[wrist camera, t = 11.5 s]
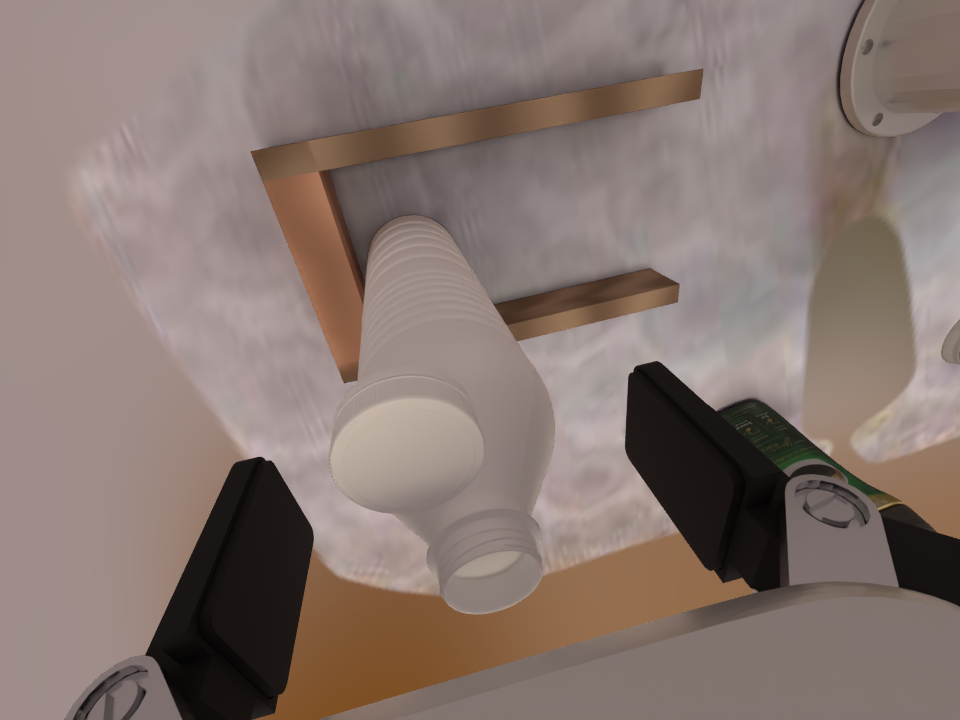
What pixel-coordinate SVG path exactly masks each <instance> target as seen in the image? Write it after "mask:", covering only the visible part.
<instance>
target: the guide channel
mask: <svg viewBox="0 0 960 720" xmlns="http://www.w3.org/2000/svg"><path fill="white" fill-rule="evenodd" d="M702 76H703V69H699V70H693V71H687V72H682V73H676V74H670V75H665V76H659V77H654V78H648V79H643V80H637V81H632V82H626V83H621V84H615V85H610V86H604V87H599V88H593V89H588V90H582V91H577V92H572V93H566V94H561V95H555V96H550V97H544V98H539V99H533V100H528V101H522V102H517V103H511V104H506V105H500V106H495V107H489V108H484V109H479V110H473V111H468V112H462V113H457V114H451V115H446V116H440V117H435V118H429V119H424V120H418V121H413V122H407V123H402V124H396V125H391V126H386V127H380V128H375V129H369V130H364V131H358V132H353V133H347V134H342V135H336V136H331V137H325V138H320V139H314V140H309V141H303V142H298V143H293V144H287V145H282V146H276V147H271V148H266V149H261V150H256V151H251V154H252V157H253V159H254V162H255V164H256V166H257V169H258V171H259V174H260V176H261V179H262V181H263V184H264V186H265V189H266V191H267V194H268V196H269V199H270V201H271V204H272V206H273V209H274V211H275V213H276V216H277V218H278V221H279V223H280V226H281V228H282V231H283V233H284V236H285V238H286V241H287V243H288V246H289V248H290V251H291V253H292V256H293V258H294V260H295V263H296V265H297V268H298V270H299V273H300V275H301V278H302V280H303V283H304V285H305V288H306V290H307V293H308V295H309V298H310V300H311V303H312V305H313V307H314V310H315V312H316V315H317V317H318V320H319V322H320V325H321V327H322V330H323V332H324V335H325V337H326V340H327V342H328V345H329V347H330V350H331V352H332V354H333V357H334V359H335V362H336V364H337V367H338V369H339V372H340V374H341V377H342V379H343V382H344V383H348V382H352V381H356V380H358V368H359V357H360V344H361V333H362V314H363V304H364V295H365V283H364V280H363V277H362V274H361V271H360V268H359V265H358V262H357V259H356V255H355V252H354V249H353V246H352V243H351V240H350V237H349V234H348V231H347V227H346V224H345V221H344V218H343V215H342V212H341V209H340V206H339V203H338V199H337V196H336V193H335V190H334V187H333V184H332V181H331V178H330V175H329V171H328V170H329V169H334V168H339V167H345V166H350V165H355V164H360V163H366V162H371V161H376V160H381V159H387V158H392V157H397V156H402V155H408V154H413V153H418V152H423V151H429V150H434V149H439V148H444V147H450V146H455V145H460V144H465V143H471V142H476V141H481V140H486V139H492V138H497V137H502V136H507V135H513V134H518V133H523V132H528V131H533V130H539V129H544V128H549V127H554V126H560V125H565V124H570V123H575V122H581V121H586V120H591V119H596V118H602V117H607V116H612V115H617V114H623V113H628V112H633V111H638V110H644V109H649V108H654V107H659V106H665V105H670V104H675V103H680V102H686V101H691V100H696V99H700V95H701V85H702ZM679 285H680V284H678V283H677V282H675V281H673V280H671V279H669V278H667V277H665V276H663V275H661V274H660V273H658V272H656V271H654V270H652V269H646V270H641V271H637V272H633V273H628V274H624V275H620V276H616V277H611V278H607V279H603V280H598V281H594V282H590V283H586V284H581V285H577V286H573V287H568V288H564V289H560V290H555V291H551V292H547V293H543V294H538V295H534V296H530V297H525V298H521V299H517V300H512V301H508V302H504V303H500V304H495V305H494V306H495V308H496V309H497V311H498V313H499V314H500V316H501V317H502V319H503V320H504V322H505V324H506V325H507V327H508V328H509V330H510V332H511V333H512V335H513V336H514V338H515V340H516V341H520V340H524V339H529V338H533V337H537V336H541V335H545V334H549V333H553V332H557V331H561V330H566V329H570V328H574V327H578V326H582V325H586V324H590V323H594V322H598V321H602V320H607V319H611V318H615V317H619V316H623V315H627V314H631V313H635V312H639V311H644V310H648V309H652V308H656V307H660V306H664V305H668V304H672V303H676V302H678V295H679Z"/></svg>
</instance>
